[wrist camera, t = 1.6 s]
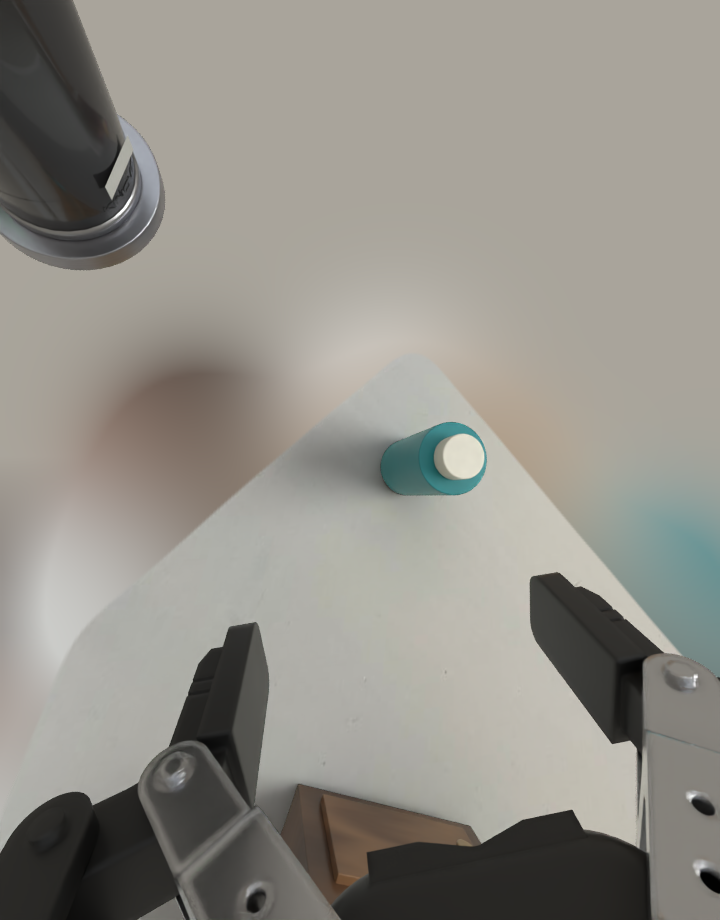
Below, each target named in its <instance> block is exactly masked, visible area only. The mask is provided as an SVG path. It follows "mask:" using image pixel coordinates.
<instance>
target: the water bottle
mask: <svg viewBox="0 0 720 920" xmlns="http://www.w3.org/2000/svg"><path fill="white" fill-rule="evenodd" d="M486 463H487V457H486V451H485V447H484V445H483V443H482V441H481V439H480V438H479V436H478V435H477V434H476V433H475V432H474V431H473V430H472V429H470V428H469V427H467V426H465V425H463V424H460V423H456V422H446V423H442V424H439V425H437V426H434V427H432V428H429V429H427V430H424V431H422V432H419V433H417V434H415V435H412V436H410V437H407V438H405V439H402V440H400V441H397V442H395V443H393V444H392V445H391V446H390V447H388V449H387V450H386V451H385V453H384V455H383V457H382V460H381V473H382V477H383V479H384V481H385V483H386V484H387V486H388V487H389V488H390V489H392V490H393V491H394V492H396V493H398V494H402V495H460V494H464V493H466V492H468V491H470V490H472V489H473V488H474V487H475V486H476V485H477V484H478V483H479V482H480V480H481V479H482V477H483V475H484V472H485V469H486Z"/></svg>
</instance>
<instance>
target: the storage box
mask: <svg viewBox="0 0 720 920" xmlns="http://www.w3.org/2000/svg"><path fill="white" fill-rule="evenodd" d="M280 836H281V837H282V839H283V840H284V841H285V843H286V844H287V845H288V847H289V848H290V850H291V851H292V852H293V854H294V855H295V857H296V858H297V859H298V861H299V862H300V863H301V865H302V866H303V868H304V869H305V870H306V872H307V873H308V875H309V876H310V877H311V879H312V880H313V882H314V883H315V884H316V886H317V887H318V888H319V890H320V891H321V893H322V894H323V895H324V897H325V898H326V900H327V901H328V902H329V904H330V905H331V904H332V903H333V902H334V901H335V899H336V898H337V897H338V896H339V895H340V894H341V893H342V892H343V891H344V890H345V889H346V888H348V887H349V886H350V885H352V884H353V883H354V882H355V881H357V880H358V879H360V878H361V877H363V876H365V875H366V874H368V873H369V872H368V863H367V853H366V852H371V851H375V850H380V849H385V848H390V847H395V846H400V845H404V844H409V843H414V842H428V843H439V844H449V845H460V846H478V845H480V844H481V842H480V841H479V839H478V838H477V836H476V834H475V833H474V831H473V830H472V828H471V827H470V826H467V825H463V824H459V823H455V822H451V821H447V820H443V819H439V818H435V817H431V816H427V815H423V814H419V813H414V812H410V811H406V810H402V809H398V808H394V807H390V806H386V805H382V804H378V803H374V802H370V801H366V800H362V799H358V798H354V797H350V796H345V795H341V794H337V793H333V792H329V791H325V790H321V789H317V788H313V787H309V786H305V785H301V784H298V786H297V789H296V792H295V795H294V798H293V801H292V804H291V806H290V809H289V812H288V815H287V818H286V821H285V824H284V827H283V830H282V833H281V835H280Z"/></svg>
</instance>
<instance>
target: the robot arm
mask: <svg viewBox="0 0 720 920" xmlns="http://www.w3.org/2000/svg"><path fill="white" fill-rule="evenodd" d="M140 190H141V176H140V170H139V167H138V163H137V161H136V158H135V156H134V153H133V148H132V145H131V142H130V140H129V137H128V136H127V138H126V137H125V134H124V132H123V129H122V126H121V124H120V121H119V118H118V115H117V113H116V110H115V108H114V105H113V102H112V100H111V97H110V95H109V92H108V89H107V87H106V84H105V82H104V79H103V77H102V74H101V72H100V69H99V66H98V64H97V61H96V59H95V56H94V53H93V51H92V49H91V46H90V43H89V41H88V38H87V36H86V33H85V30H84V28H83V25H82V23H81V20H80V17H79V15H78V12H77V10H76V7H75V5H74V2H73V0H0V206H1V207H2V208H3V209H4V210H5V211H6V212H7V213H8V214H9V216H11V217H12V218H13V219H14V220H15V221H17V222H18V223H19V224H21V225H22V226H24V227H26V228H27V229H29V230H31V231H33V232H35V233H38V234H40V235H43V236H46V237H49V238H54V239H59V240H69V241H77V240H87V239H92V238H96V237H99V236H102V235H105V234H107V233H109V232H111V231H113V230H114V229H116V228H117V227H119V226H120V225H121V224H122V223H123V222H125V220H126V219H127V218H128V217H129V216H130V215H131V213H132V212H133V210H134V208H135V207H136V204H137V202H138V199H139V196H140ZM530 623H531V629H532V632H533V635H534V638H535V640H536V642H537V643H538V645H539V646H540V648H541V649H542V650H543V652H544V653H545V654H546V656H547V657H548V658H549V660H550V661H551V662H552V664H553V665H554V666H555V668H556V669H557V670H558V672H559V673H560V674H561V676H562V677H563V679H564V680H565V681H566V683H567V684H568V685H569V687H570V688H571V689H572V691H573V692H574V693H575V695H576V696H577V697H578V699H579V700H580V701H581V703H582V704H583V705H584V707H585V708H586V709H587V711H588V712H589V714H590V715H591V716H592V718H593V719H594V720H595V722H596V723H597V724H598V726H599V727H600V728H601V730H602V731H603V732H604V734H605V735H606V736H607V738H608V739H609V740H610V742H611V743H612V744H615V743H620V742H625V741H630V740H631V742H632V743H633V744H634V746H635V747H636V748H637V752H636V846H634V845H632V844H630V843H627V842H625V841H623V840H621V839H619V838H616V837H613V836H610V835H607V834H604V833H600V832H595V831H591V830H583V828H582V827H581V825H580V823H579V821H578V819H577V818H576V816H575V814H574V812H573V810H568V811H563V812H559V813H554V814H549V815H544V816H539V817H535V818H530V819H525V820H522V821H520V822H518V823H517V824H515V825H513V826H512V827H510V828H508V829H506V830H505V831H503V832H501V833H499V834H498V835H496V836H494V837H493V838H491V839H489V840H487V841H486V842H484V843H482V844H480V845H478V846H460V845H449V844H439V843H428V842H414V843H409V844H404V845H400V846H395V847H390V848H385V849H380V850H375V851H371V852H366V853H367V863H368V872H369V873H368V874H366V875H365V876H363V877H361V878H360V879H358V880H357V881H355V882H354V883H353V884H352V885H350V886H349V887H348V888H346V889H345V890H344V891H343V892H342V893H341V894H340V895H339V896H338V897H337V898H336V899H335V901H334V902H333V903H332V904H331V905H330V904H329V902H328V901H327V900H326V898H325V897H324V895H323V894H322V893H321V891H320V890H319V888H318V887H317V886H316V884H315V883H314V882H313V880H312V879H311V877H310V876H309V875H308V873H307V872H306V870H305V869H304V868H303V866H302V865H301V863H300V862H299V861H298V859H297V858H296V857H295V855H294V854H293V852H292V851H291V850H290V848H289V847H288V845H287V844H286V843H285V841H284V840H283V839H282V837H281V836H280V834H279V833H278V832H277V830H276V829H275V827H274V826H273V825H272V823H271V822H270V821H269V819H268V818H267V816H266V815H265V814H264V812H263V811H262V810H261V809H260V808H259V807H258V806H254V802H255V794H256V786H257V778H258V771H259V763H260V755H261V748H262V740H263V732H264V724H265V717H266V709H267V701H268V694H269V673H268V667H267V662H266V657H265V653H264V648H263V643H262V639H261V634H260V630H259V626H258V624H257V623H256V622H254V623H249V624H243V625H237V626H231V627H229V629H228V632H227V635H226V639H225V642H224V645H223V647H220V648H214V649H211V650H210V651H209V652H208V653H207V655H206V656H205V657H204V658H203V659H202V660H201V662H200V663H199V664H198V667H197V670H196V673H195V675H194V678H193V683H192V684H191V687H190V689H189V692H188V696H187V698H186V701H185V703H184V706H183V709H182V712H181V714H180V717H179V720H178V723H177V726H176V728H175V731H174V734H173V737H172V740H171V742H170V745H169V747H168V748H167V749H165V750H163V751H162V752H161V753H159V754H158V755H157V756H156V757H155V758H154V759H153V760H152V761H151V762H150V763H149V764H148V766H147V767H146V768H145V770H144V772H143V773H142V775H141V778H140V780H139V782H138V783H137V784H135V785H134V786H132V787H130V788H128V789H126V790H124V791H122V792H120V793H118V794H116V795H114V796H112V797H110V798H107V799H105V800H103V801H101V802H99V803H97V804H95V805H93V806H92V803H91V801H90V798H89V797H88V796H87V795H85V794H84V793H80V792H70V793H65V794H62V795H59V796H57V797H55V798H52V799H51V800H49V801H47V802H45V803H44V804H42V805H41V806H39V807H38V808H37V809H35V810H34V811H33V812H32V813H30V814H29V815H28V816H27V817H26V818H25V819H24V820H23V821H22V822H21V823H20V824H19V825H18V827H17V828H16V829H15V830H14V832H13V833H12V835H11V836H10V838H9V839H8V841H7V843H6V844H5V846H4V848H3V850H2V851H1V853H0V920H137V919H139V918H140V917H142V916H144V915H146V914H147V913H149V912H151V911H152V910H154V909H156V908H157V907H159V906H161V905H163V904H164V903H166V902H168V901H169V900H171V899H173V898H174V897H175V899H176V902H177V904H178V906H179V909H180V911H181V913H182V916H183V918H184V920H720V678H719V677H716V676H715V675H714V674H713V673H712V672H711V671H710V670H709V669H707V668H706V667H705V666H703V665H701V664H700V663H698V662H696V661H694V660H692V659H689V658H686V657H683V656H680V655H675V654H667V653H663V652H662V651H661V650H660V649H659V648H658V647H657V646H656V645H654V644H653V643H652V642H651V641H650V640H649V639H648V638H647V637H645V636H644V635H643V634H642V633H641V632H640V631H639V630H637V629H636V628H635V627H634V626H633V625H632V624H631V623H630V622H628V621H627V620H626V619H625V620H624V618H623V616H622V615H621V614H619V613H618V612H617V611H616V610H613V608H612V606H610V605H609V604H608V603H607V602H606V601H605V600H604V599H603V598H601V597H600V596H599V595H597V594H595V593H593V592H591V591H589V590H587V589H585V588H583V587H581V586H580V587H574V586H573V585H572V584H571V583H570V582H569V581H568V580H567V579H566V578H565V577H564V576H563V575H561V574H560V573H558V572H556V573H550V574H544V575H538V576H533V577H531V579H530Z"/></svg>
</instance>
